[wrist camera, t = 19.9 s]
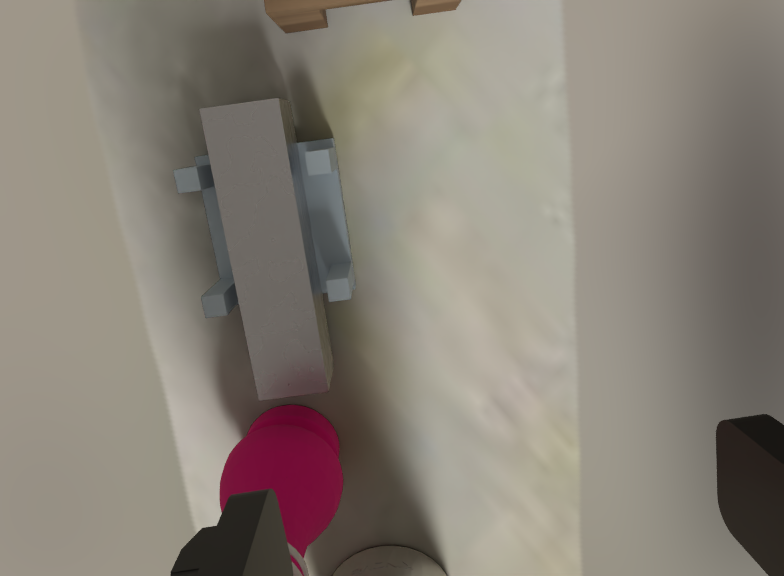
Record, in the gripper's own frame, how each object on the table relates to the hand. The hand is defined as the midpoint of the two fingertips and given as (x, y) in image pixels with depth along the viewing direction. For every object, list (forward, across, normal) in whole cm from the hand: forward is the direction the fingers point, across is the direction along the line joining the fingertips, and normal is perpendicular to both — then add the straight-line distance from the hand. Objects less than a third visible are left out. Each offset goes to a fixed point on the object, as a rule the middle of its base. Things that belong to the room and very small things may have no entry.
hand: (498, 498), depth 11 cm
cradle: (+27, +8, -2) cm, 28 cm away
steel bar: (+26, +8, -1) cm, 27 cm away
